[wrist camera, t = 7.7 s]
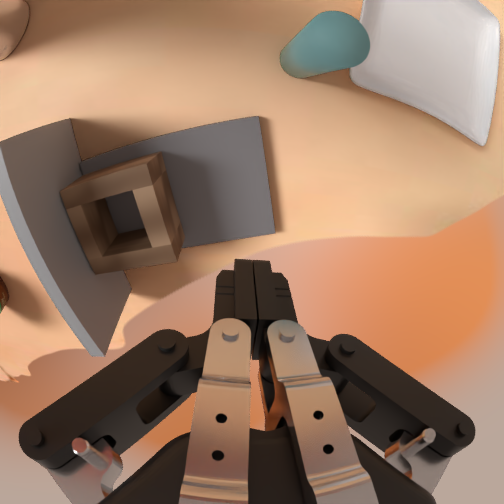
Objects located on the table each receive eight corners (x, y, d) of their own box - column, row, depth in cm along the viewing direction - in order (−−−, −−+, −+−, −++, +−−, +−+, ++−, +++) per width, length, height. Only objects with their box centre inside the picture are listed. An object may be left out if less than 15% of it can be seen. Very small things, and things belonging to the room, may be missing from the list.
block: (82, 175, 26) (59, 191, 22) (161, 151, 26) (146, 163, 21) (110, 250, 31) (95, 274, 27) (185, 236, 31) (177, 261, 27)
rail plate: (83, 160, 26) (79, 162, 25) (257, 115, 25) (258, 116, 25) (118, 255, 33) (115, 259, 32) (274, 229, 32) (275, 233, 31)
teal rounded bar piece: (276, 43, 21) (302, 10, 11) (316, 41, 21) (364, 13, 11) (283, 79, 23) (313, 68, 13) (321, 77, 23) (374, 69, 13)
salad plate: (358, -58, 13) (370, -68, 10) (486, 20, 16) (502, 20, 13) (335, 83, 24) (347, 82, 21) (469, 142, 27) (486, 149, 24)
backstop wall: (57, 124, 23) (-13, 151, 13) (70, 118, 23) (-1, 142, 13) (120, 290, 36) (91, 356, 26) (131, 288, 36) (105, 356, 26)
